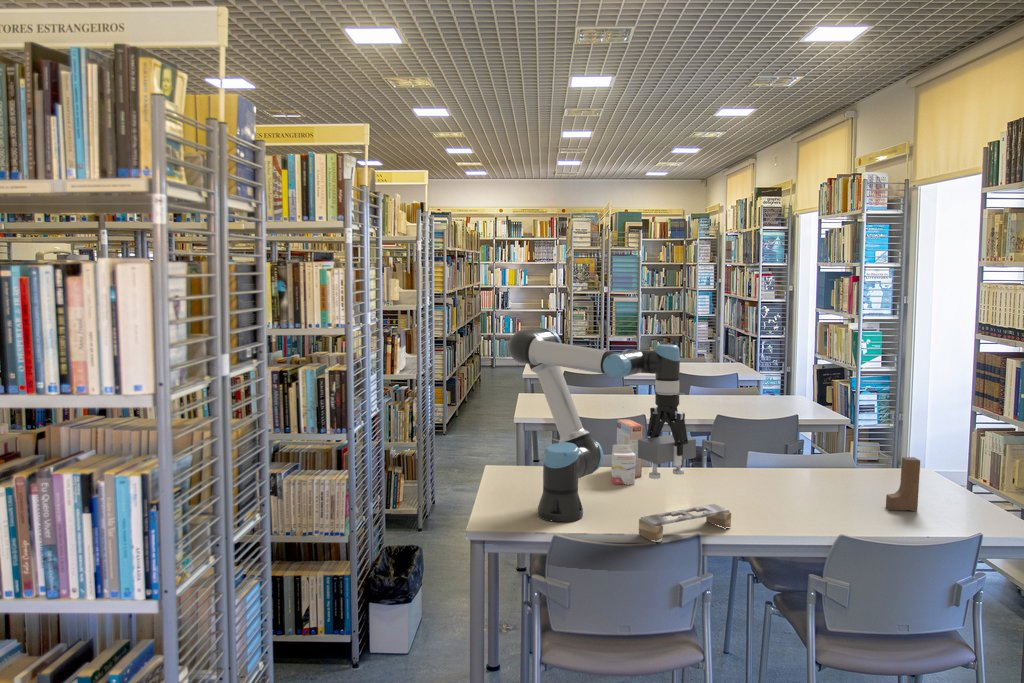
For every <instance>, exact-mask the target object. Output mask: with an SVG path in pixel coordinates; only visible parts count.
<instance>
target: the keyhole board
mask: <svg viewBox="0 0 1024 683" xmlns="http://www.w3.org/2000/svg"><path fill="white" fill-rule="evenodd" d="M692 512H697V513H698V514H692ZM700 512H702V513H700ZM666 517H676V518H672V519H671V518H670V519H668V518H666ZM701 518H705V519H706V520H705V521H708V522H710V523H709V524H711V523H713V524H716V525H719V526H722V527H724V528H726V527H731V526H732V525H731V524H732V512H731V511H730V509H729V508H726V507H724V506H721V505H718V504H716V503H713V504H707V505H701V506H696V507H689V508H685V509H678V510H673V511H667V512H662V513H656V514H651V515H645V516H640V518H638V535H639V534H640V535H642V536H643V537H642V536H641V537H642V538H644V537H645V539H646V540H648V539H649V541H650V540H655V541H657V540H659V539H661V538H662V537H663V538H664V525H668V524H669V525H670V524H675V523H679V522H684V521H685V522H686V521H690V520H691V521H692V520H695V519H701ZM708 522H707V523H708ZM713 524H712V525H713ZM640 535H639V536H640Z"/></svg>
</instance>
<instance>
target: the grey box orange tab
mask: <svg viewBox="0 0 1024 683" xmlns="http://www.w3.org/2000/svg"><path fill="white" fill-rule="evenodd" d="M687 438H688V444H685V445H683V455H682V461H684V460H685V461H686V460H689V459H696V458H697V456H696V455H697V439H696V438H694V437H693V438H692V437H688V436H687ZM683 441H684V440H683ZM674 445H675V441H674V438H673V435H672V434H668V435H667V434H666V435H659V437H653V438H651V437H647V438H643V439H638V458H640V459H642V461H643V460H644V461H646V462H650V463H652V472H651V471H650V472H648V478H649V479H652V480H655V479H656V480H658V479H661V472H658V465H659V464H660V465H661V464H665V463H666V464H667V463H672V462H673V463H674ZM681 466H682V465H680V466H675V467H676V468H673V469H672V474H673V475H681V476H682V475H685V469H684V468H681Z"/></svg>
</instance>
